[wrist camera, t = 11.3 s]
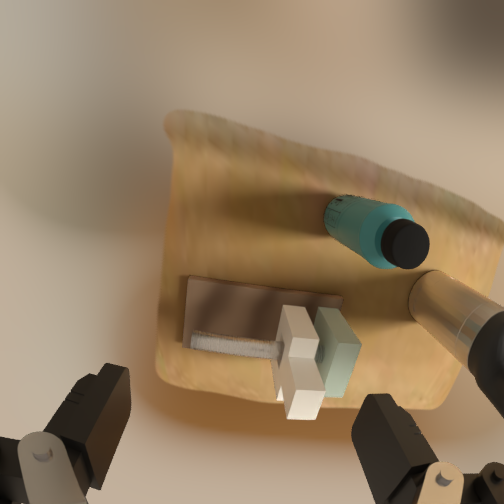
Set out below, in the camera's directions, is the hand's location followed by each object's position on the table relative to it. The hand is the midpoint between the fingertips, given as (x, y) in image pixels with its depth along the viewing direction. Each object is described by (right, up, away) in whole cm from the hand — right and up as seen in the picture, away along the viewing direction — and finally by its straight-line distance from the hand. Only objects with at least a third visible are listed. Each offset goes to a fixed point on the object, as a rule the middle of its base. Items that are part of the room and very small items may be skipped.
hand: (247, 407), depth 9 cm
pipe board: (+1, -5, +36) cm, 37 cm away
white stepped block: (+5, -6, +33) cm, 34 cm away
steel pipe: (+2, -7, +30) cm, 31 cm away
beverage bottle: (+13, +10, +33) cm, 37 cm away
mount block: (+10, -7, +35) cm, 38 cm away
